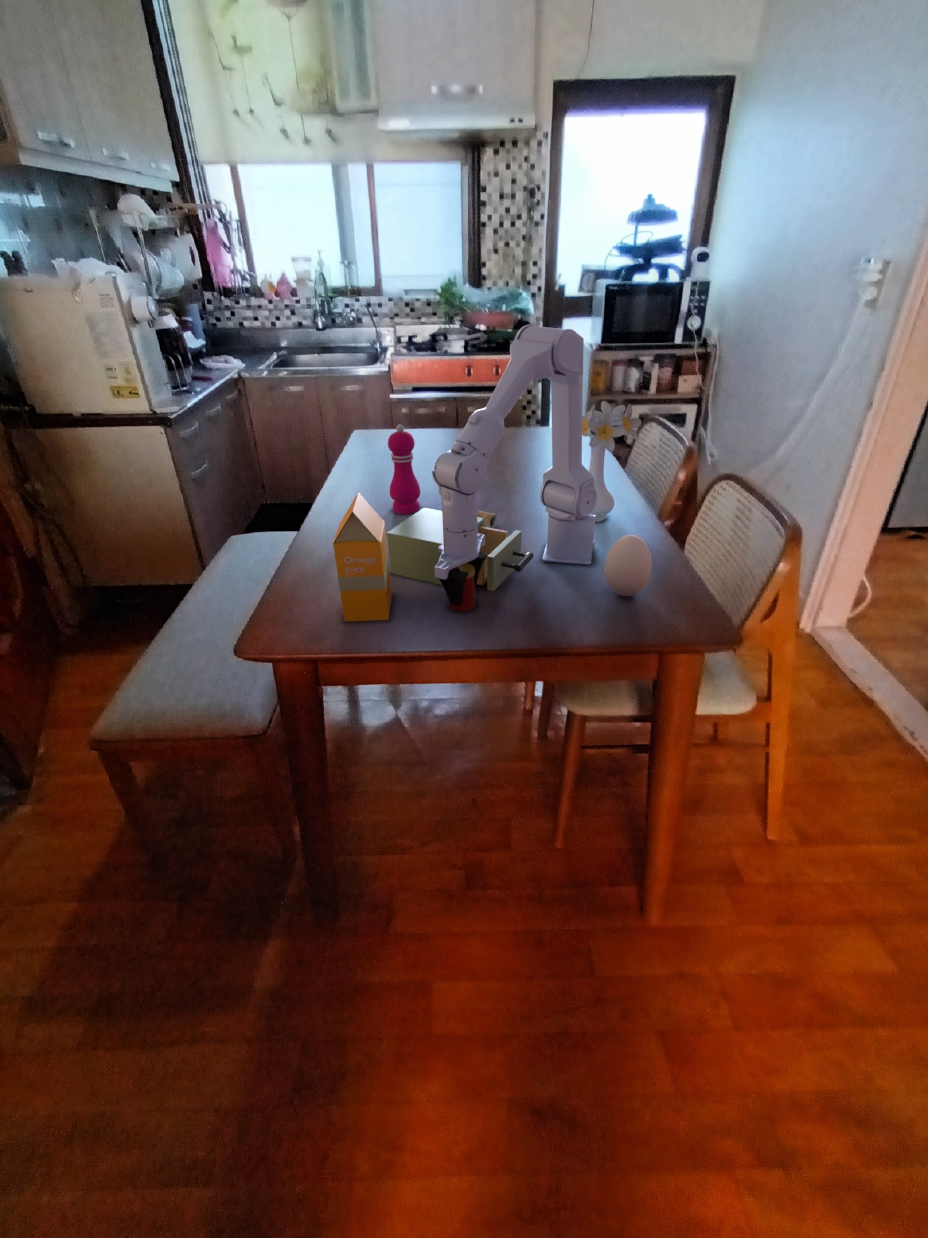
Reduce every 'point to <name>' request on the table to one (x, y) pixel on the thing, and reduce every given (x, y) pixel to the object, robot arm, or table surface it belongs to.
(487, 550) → the drawer
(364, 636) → the table surface
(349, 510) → the orange juice
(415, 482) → the pepper mill
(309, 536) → the table surface
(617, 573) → the egg
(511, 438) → the table surface
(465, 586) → the tea tin
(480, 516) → the pastry
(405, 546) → the cabinet
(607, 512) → the flower vase
